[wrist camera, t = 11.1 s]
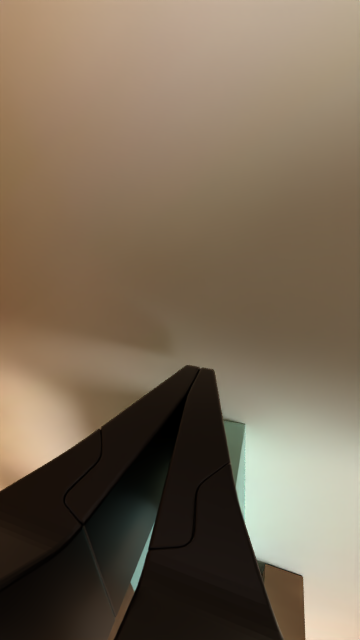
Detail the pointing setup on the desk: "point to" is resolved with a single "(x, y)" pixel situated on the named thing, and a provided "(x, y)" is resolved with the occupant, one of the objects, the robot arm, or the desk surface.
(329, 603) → the desk surface
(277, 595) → the brown u-shaped block
